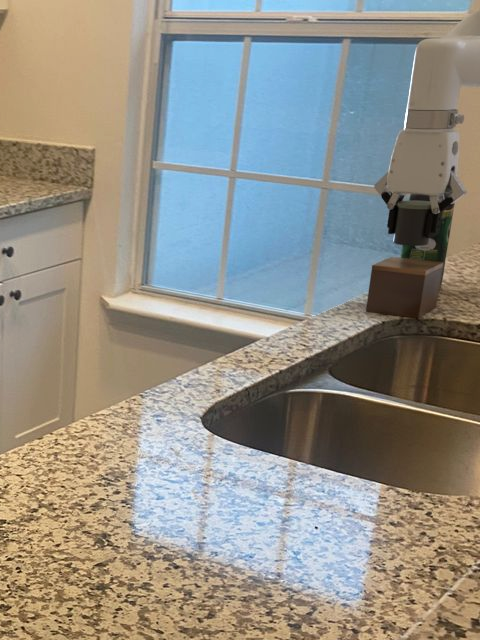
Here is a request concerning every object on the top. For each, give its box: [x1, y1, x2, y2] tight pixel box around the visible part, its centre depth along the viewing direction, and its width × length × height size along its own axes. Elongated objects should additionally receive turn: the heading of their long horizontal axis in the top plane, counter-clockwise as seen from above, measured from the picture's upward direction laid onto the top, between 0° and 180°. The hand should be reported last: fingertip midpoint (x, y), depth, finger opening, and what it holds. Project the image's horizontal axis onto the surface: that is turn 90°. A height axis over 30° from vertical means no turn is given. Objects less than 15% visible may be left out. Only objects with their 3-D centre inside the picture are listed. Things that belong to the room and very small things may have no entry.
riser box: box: [365, 256, 444, 319], centre depth 178 cm, size 9×9×8 cm
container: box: [392, 200, 432, 246], centre depth 173 cm, size 6×6×7 cm
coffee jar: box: [400, 191, 455, 289], centre depth 191 cm, size 10×8×19 cm
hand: (412, 233), depth 174 cm, fingers closed on container, 5 cm apart
